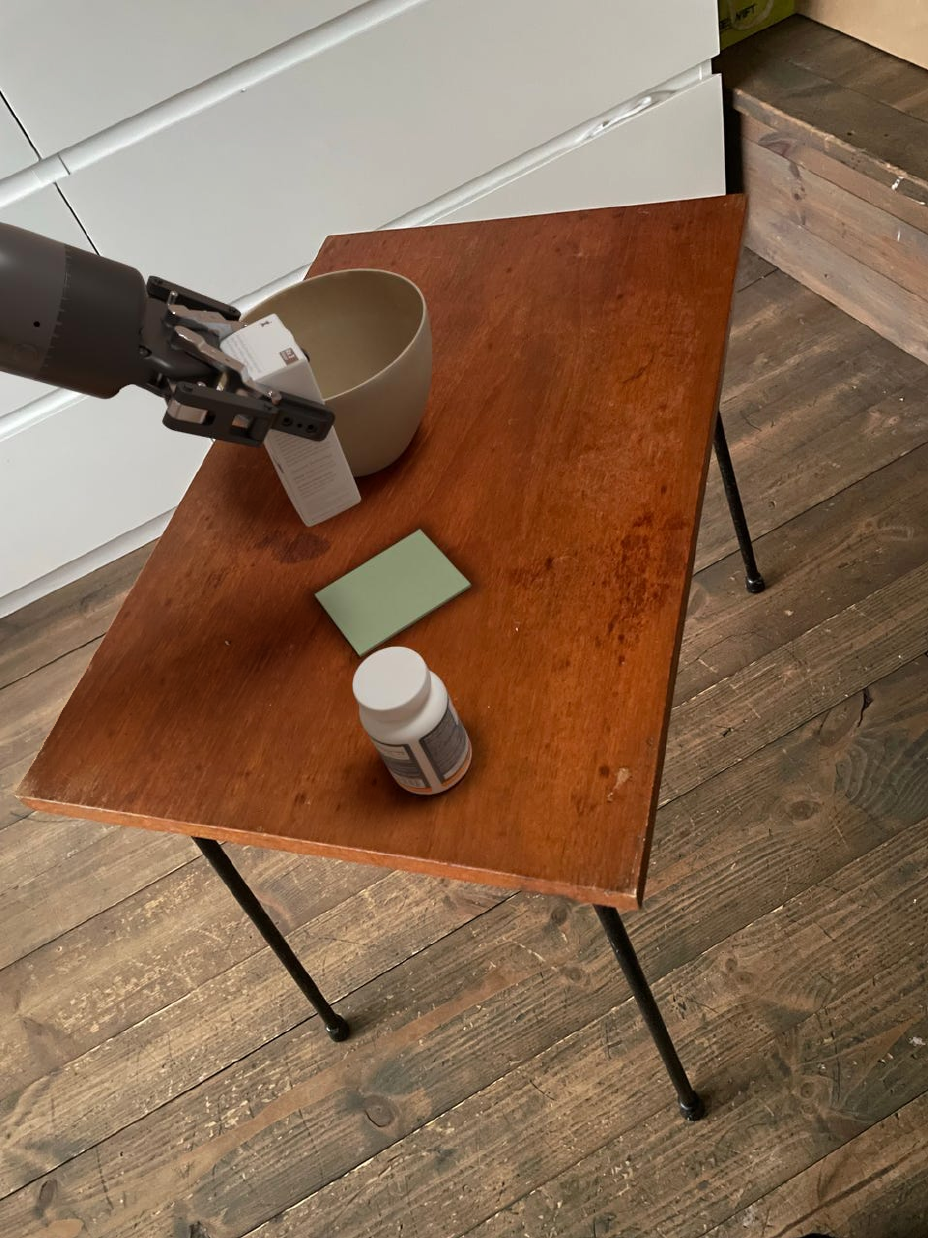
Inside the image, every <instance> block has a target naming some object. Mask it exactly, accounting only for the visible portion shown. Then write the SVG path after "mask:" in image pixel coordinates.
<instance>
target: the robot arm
mask: <svg viewBox="0 0 928 1238" xmlns="http://www.w3.org/2000/svg"><path fill="white" fill-rule="evenodd" d="M241 318H242V312H241V311H240V310H239V309H238V308H236V307H235V306H233V305H230V304H227V303H225V302H223V301H220V300H218V299H215V298H213V297H209V296H207V295H205V294H202V293H200V292H197V291H194V290H193V289H189V288H187V287H184V286H182V285H180V284H177V283H174V282H172V281H169V280H167V279H164V278H161V277H159V276H156V275H149V276H148V278H147V281H145V277H144V276H143V274H142V272H141V271H139V270H138V268H136V267H134V266H131V265H128V264H126V263H122V262H120V261H118V260H113V259H111V258H108V257H105V256H103V255H100V254H97V253H95V252H94V253H93V252H91V251H88V250H86V249H82V248H79V247H77V246H73V245H71V244H68V243H65V242H63V241H60V240H57V239H54V238H51V237H49V236H45V235H43V234H40V233H38V232H34V231H32V230H28V229H25V228H23V227H20V226H17V225H14V224H10V223H6V222H2V221H0V372H1V373H5V374H7V375H12V376H17V377H19V378H22V379H23V378H24V379H27V380H31V381H33V382H38V383H42V384H46V385H48V386H53V387H57V388H60V389H63V390H67V391H71V392H74V393H78V394H82V395H86V396H89V397H92V398H96V399H100V400H110V399H112V398H114V397H116V396H117V395H118V394H119V393H120V391H121V390H122V389H123V388H125V387H127V386H130V385H131V386H132V385H133V386H136V387H138V388H141V389H143V390H145V391H147V392H149V393H150V394H152V395H154V396H157V397H159V398H162V399H164V402H165V404H166V406H167V407H166V410H165V412H164V415H163V417H162V419H161V422H162V425H163V426H164V427H166V428H167V429H169V430H170V431H173V432H177V433H182V434H187V435H191V436H197V437H202V438H207V439H211V440H216V441H221V442H226V443H229V444H230V443H231V444H236V445H239V446H240V445H241V446H246V447H251V448H254V449H255V448H256V449H258V448H259V449H260V448H261V447H262V446H263V445H264V443H263V442H264V440H265V438H266V435H267V433H268V431H269V430H270V429H273V430H277V431H280V432H284V433H288V434H291V435H295V436H298V437H302V438H305V439H309V440H312V441H316V442H320V441H323V440H324V439H325V438H326V437H327V435H328V433H329V431H330V429H331V427H332V425H333V423H334V421H335V414H334V412H333V410H332V408H331V407H330V406H327V405H324V404H321V403H317V402H314V401H311V400H308V399H304V398H301V397H298V396H295V395H291V394H288V393H285V392H282V391H279V392H277V391H276V390H274V389H272V388H271V387H269V386H267V385H264V384H261V383H258V382H255V381H254V380H253V379H252V377H250V376H249V374H248V369H247V367H246V366H245V365H244V364H243V363H241V362H239V361H238V360H236V359H234V358H232V357H230V356H228V355H227V354H225V353H223V352H221V350H220V345H221V343H220V342H221V341H222V340H223V339H225V338H226V337H228V336H229V335H231V334H233V333H235V332H237V331H239V330H240V329H243V328H245V327H247V326H249V325H250V324H248V323H245V322H240V321H239V320H240V319H241ZM299 348H300V347H299ZM300 349H301V351H302V352H303V354H304V355H305V357H306V358H307V360H308V363H309V362H310V358H309V356H308V353H307V351H306V350H305V349H303V348H300ZM223 373H225V375H226V378H227V381H226V384H225V386H224V388H223V390H222V391H221V389H218V388H219V386H218V385H219V382H220V380H221V378H222V375H223ZM239 390H243V391H245V392H246V393H248V394H250V395H252V396H254V397H256V398H258V399H255V398H251V397H246V396H242V395H238V392H239ZM234 422H236V423H238V424H240V425H242V426H240V425H236V424H234Z"/></svg>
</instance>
